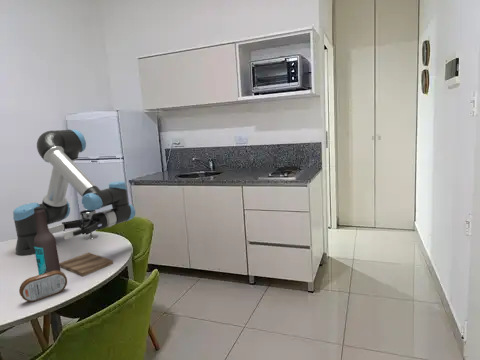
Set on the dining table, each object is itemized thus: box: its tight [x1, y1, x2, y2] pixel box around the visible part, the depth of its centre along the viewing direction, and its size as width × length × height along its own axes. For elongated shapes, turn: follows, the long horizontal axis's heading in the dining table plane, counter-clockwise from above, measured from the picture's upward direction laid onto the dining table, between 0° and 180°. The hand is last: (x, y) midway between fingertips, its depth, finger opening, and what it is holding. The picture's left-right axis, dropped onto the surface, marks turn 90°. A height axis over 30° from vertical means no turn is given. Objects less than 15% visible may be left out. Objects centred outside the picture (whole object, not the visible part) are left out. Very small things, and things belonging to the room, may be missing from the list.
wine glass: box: [79, 209, 99, 240], centre depth 188 cm, size 8×8×15 cm
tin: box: [19, 271, 68, 302], centre depth 123 cm, size 15×3×8 cm, turn 131°
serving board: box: [59, 252, 114, 277], centre depth 149 cm, size 20×14×2 cm
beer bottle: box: [34, 206, 62, 275], centre depth 135 cm, size 8×8×30 cm
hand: (55, 233), depth 138 cm, fingers open, 13 cm apart
